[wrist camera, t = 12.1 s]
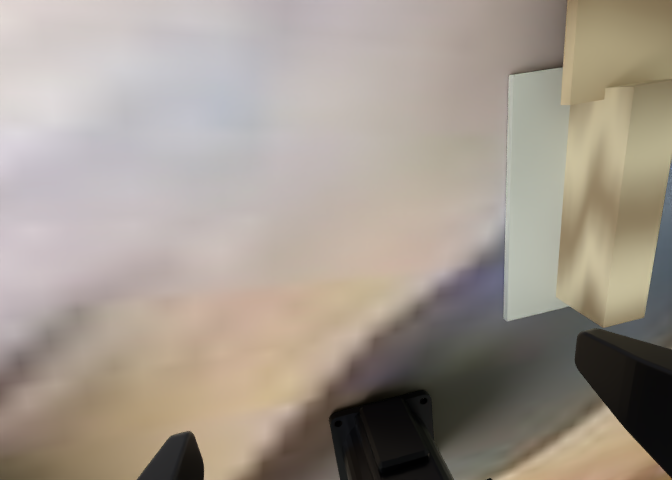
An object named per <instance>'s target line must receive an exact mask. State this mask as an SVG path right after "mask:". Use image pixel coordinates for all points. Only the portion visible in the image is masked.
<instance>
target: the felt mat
mask: <svg viewBox="0 0 672 480" xmlns="http://www.w3.org/2000/svg"><path fill="white" fill-rule="evenodd" d="M562 75H563V67H560V68H554V69H547V70H540V71H533V72H527V73H520V74H513V75H509V82H508V128H507V174H506V220H505V266H504V313H503V318H504V319H505V320H506V321H511V320H515V319H519V318H523V317H528V316H532V315H536V314H540V313H544V312H548V311H552V310H557V309H561V308H565V307H569V305H567V304H565V303H564V302H562V301H561V300H559V299H558V298H556V287H557V274H558V261H559V247H560V234H561V220H562V207H563V194H564V180H565V167H566V153H567V140H568V127H569V113H570V105H561V90H562Z"/></svg>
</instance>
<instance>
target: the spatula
mask: <svg viewBox="0 0 672 480" xmlns="http://www.w3.org/2000/svg"><path fill="white" fill-rule="evenodd" d="M561 105H570V113H569V127H568V140H567V153H566V167H565V180H564V194H563V207H562V220H561V234H560V247H559V261H558V274H557V287H556V298H558V299H559V300H561V301H562V302H564V303H565V304H567V305H569V306H570V307H572V308H573V309H575V310H576V311H578V312H579V313H581V314H582V315H584V316H586V317H587V318H589V319H590V320H592V321H593V322H595V323H596V324H598V325H599V326H601V327H603V328H605V327H609V326H613V325H617V324H621V323H624V322H628V321H632V320H636V319H640V318H644V315H645V309H646V303H647V298H648V292H649V286H650V280H651V274H652V268H653V263H654V257H655V251H656V245H657V239H658V233H659V228H660V222H661V216H662V210H663V204H664V198H665V193H666V187H667V181H668V175H669V169H670V164H671V158H672V0H567V14H566V29H565V45H564V60H563V75H562V90H561Z"/></svg>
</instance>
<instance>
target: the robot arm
mask: <svg viewBox="0 0 672 480" xmlns="http://www.w3.org/2000/svg"><path fill="white" fill-rule="evenodd" d="M575 364H576V366H577V368H578V370H579V372H580V373H581V374H582V375H583V377H584V378H585V379H586V380H587V382H588V383H589V384H590V385H591V387H592V388H593V389H594V390H595V392H596V393H597V394H598V396H599V397H600V398H601V399H602V401H603V402H604V403H605V404H606V406H607V407H608V408H609V409H610V411H611V412H612V413H613V414H614V416H615V417H616V418H617V419H618V421H619V422H620V423H621V424H622V425H623V427H624V428H625V429H626V430H627V431H628V432H629V433H630V434H631V435H632V437H633V438H634V439H635V440H636V441H637V442H638V443H639V444H640V445H641V446H642V447H643V448H644V449H645V450H646V451H647V453H648V454H649V455H650V456H651V457H652V458H653V459H654V460H655V461H656V462H657V463H658V464H659V465H660V466H661V467H662V468H663V470H664V471H665V472H666V473H667V474H668V475H669V476H670V477H671V478H672V350H671V349H668V348H664V347H661V346H657V345H654V344H650V343H647V342H643V341H640V340H636V339H633V338H629V337H626V336H622V335H619V334H615V333H612V332H608V331H605V330H602V329H597V328H594V329H590V330H586V331H582V332H580V333H579V334H578V336H577V343H576V352H575ZM422 398H424V399H422ZM421 399H422V400H421ZM338 420H340V421H339V422H336V421H338ZM329 423H330V428H331V433H332V439H333V444H334V449H335V455H336V460H337V465H338V471H339V476H340V480H454V479H453V477H452V475H451V473H450V471H449V469H448V467H447V465H446V463H445V462H444V460H443V458H442V456H441V454H440V452H439V450H438V448H437V446H436V444H435V443H434V436H433V420H432V403H431V397H430V395H429V394H428V392H427V391H425V390H421V391H417V392H413V393H409V394H405V395H401V396H398V397H394V398H390V399H386V400H382V401H378V402H375V403H371V404H367V405H363V406H359V407H355V408H351V409H348V410H344V411H340V412H336V413H334V414H332V415H331V416H330V418H329ZM137 480H204V465H203V459H202V456H201V453H200V450H199V448H198V445H197V442H196V439H195V436H194V434H193V433H192V432H190V431H187V432H183V433H179V434H175V435H172V436H171V437H169V438H168V440H167V441H166V442H165V444H164V445H163V446H162V447H161V449H160V450H159V451H158V453H157V454H156V455H155V457H154V458H153V459H152V460H151V462H150V463H149V464H148V466H147V467H146V468H145V470H144V471H143V472H142V473H141V475H140V476H139V477H138V479H137ZM486 480H492V479H491V478H489V479H486Z"/></svg>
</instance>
